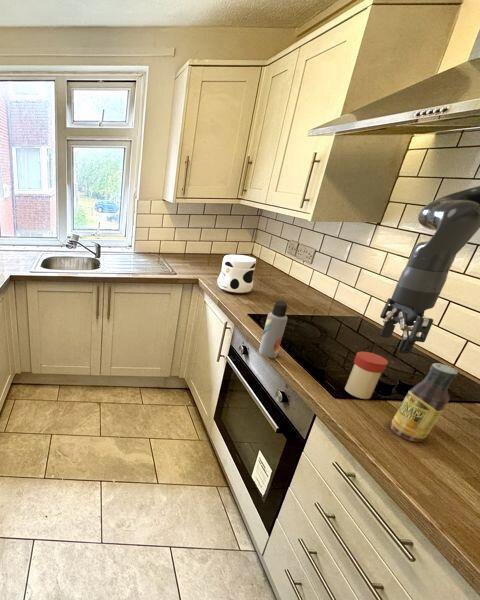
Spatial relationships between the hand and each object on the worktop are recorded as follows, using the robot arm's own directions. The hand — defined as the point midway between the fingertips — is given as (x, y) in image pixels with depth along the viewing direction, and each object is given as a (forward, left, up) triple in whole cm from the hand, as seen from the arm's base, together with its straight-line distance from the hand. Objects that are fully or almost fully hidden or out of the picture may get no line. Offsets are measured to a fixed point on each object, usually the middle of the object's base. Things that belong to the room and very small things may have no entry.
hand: (393, 344), depth 82 cm
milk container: (+2, -89, -19) cm, 91 cm away
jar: (0, -4, -18) cm, 19 cm away
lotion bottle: (+16, -24, -19) cm, 34 cm away
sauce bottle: (0, +12, -19) cm, 22 cm away
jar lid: (0, -4, -7) cm, 8 cm away
